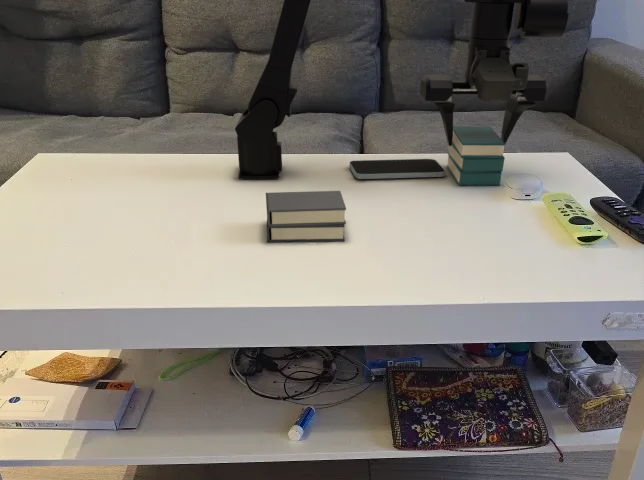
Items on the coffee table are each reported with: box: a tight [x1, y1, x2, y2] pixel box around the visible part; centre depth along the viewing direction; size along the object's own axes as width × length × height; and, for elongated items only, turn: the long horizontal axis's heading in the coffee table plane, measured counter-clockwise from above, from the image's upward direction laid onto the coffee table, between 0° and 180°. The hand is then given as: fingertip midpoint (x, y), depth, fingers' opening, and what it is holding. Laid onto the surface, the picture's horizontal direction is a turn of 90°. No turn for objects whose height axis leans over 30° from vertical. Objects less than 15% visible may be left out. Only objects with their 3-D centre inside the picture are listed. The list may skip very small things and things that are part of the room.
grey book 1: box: [265, 190, 347, 227], centre depth 87 cm, size 10×6×2 cm, turn 97°
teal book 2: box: [447, 143, 506, 172], centre depth 108 cm, size 10×6×2 cm, turn 6°
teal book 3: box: [446, 154, 503, 187], centre depth 109 cm, size 10×6×2 cm, turn 4°
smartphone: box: [348, 158, 446, 180], centre depth 110 cm, size 7×1×15 cm
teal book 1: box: [452, 126, 506, 158], centre depth 107 cm, size 10×6×2 cm, turn 2°
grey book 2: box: [266, 221, 346, 243], centre depth 89 cm, size 10×6×2 cm, turn 94°
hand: (476, 145), depth 107 cm, fingers open, 8 cm apart
